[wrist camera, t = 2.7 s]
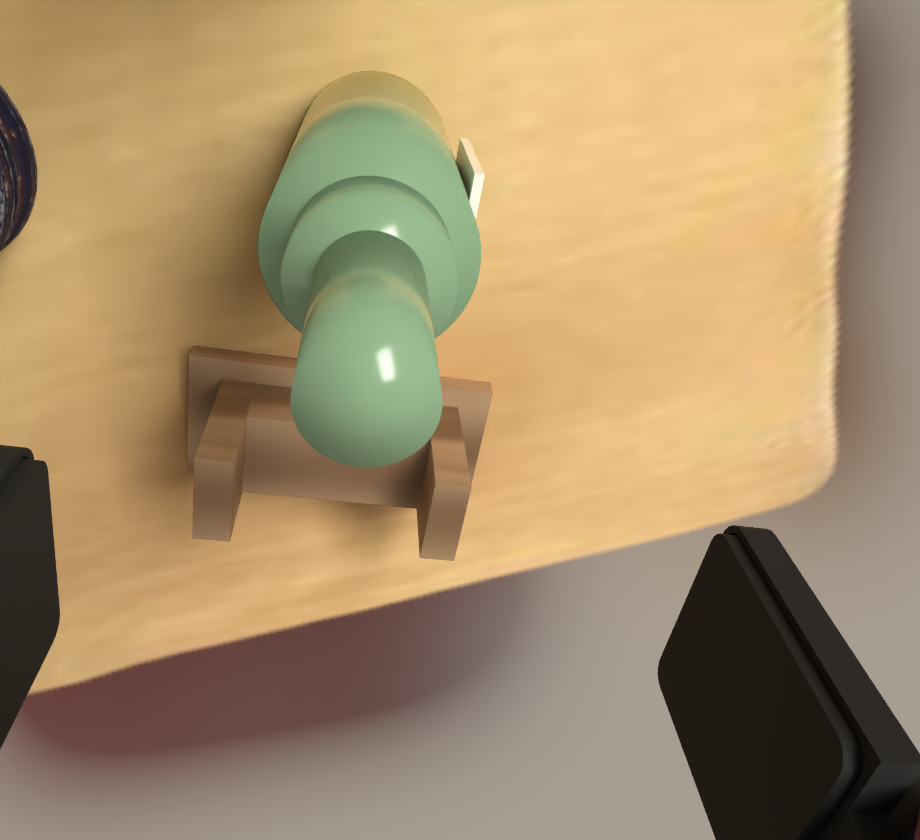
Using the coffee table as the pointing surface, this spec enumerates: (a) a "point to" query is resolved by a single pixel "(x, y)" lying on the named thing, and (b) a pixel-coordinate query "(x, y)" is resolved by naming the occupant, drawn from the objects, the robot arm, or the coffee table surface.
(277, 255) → the green bottle
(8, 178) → the storage jar
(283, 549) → the coffee table surface
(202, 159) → the coffee table surface
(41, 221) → the coffee table surface
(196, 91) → the coffee table surface
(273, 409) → the cradle
